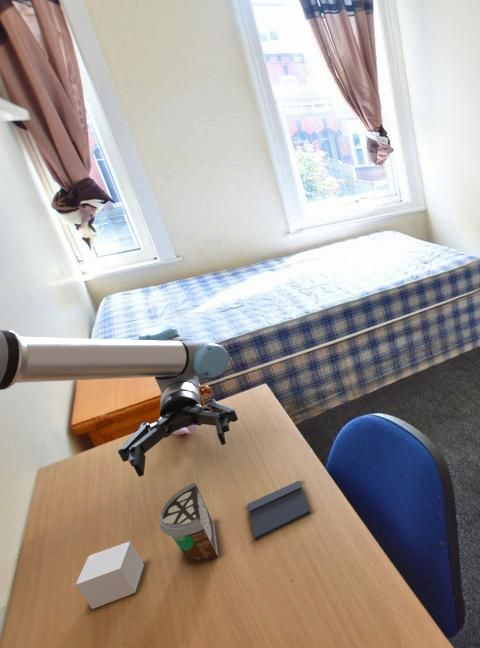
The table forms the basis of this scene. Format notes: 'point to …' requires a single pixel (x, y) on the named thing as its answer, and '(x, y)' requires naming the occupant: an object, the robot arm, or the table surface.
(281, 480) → the table surface
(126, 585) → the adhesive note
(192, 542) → the food container
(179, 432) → the rabbit figure
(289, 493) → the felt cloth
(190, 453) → the table surface
